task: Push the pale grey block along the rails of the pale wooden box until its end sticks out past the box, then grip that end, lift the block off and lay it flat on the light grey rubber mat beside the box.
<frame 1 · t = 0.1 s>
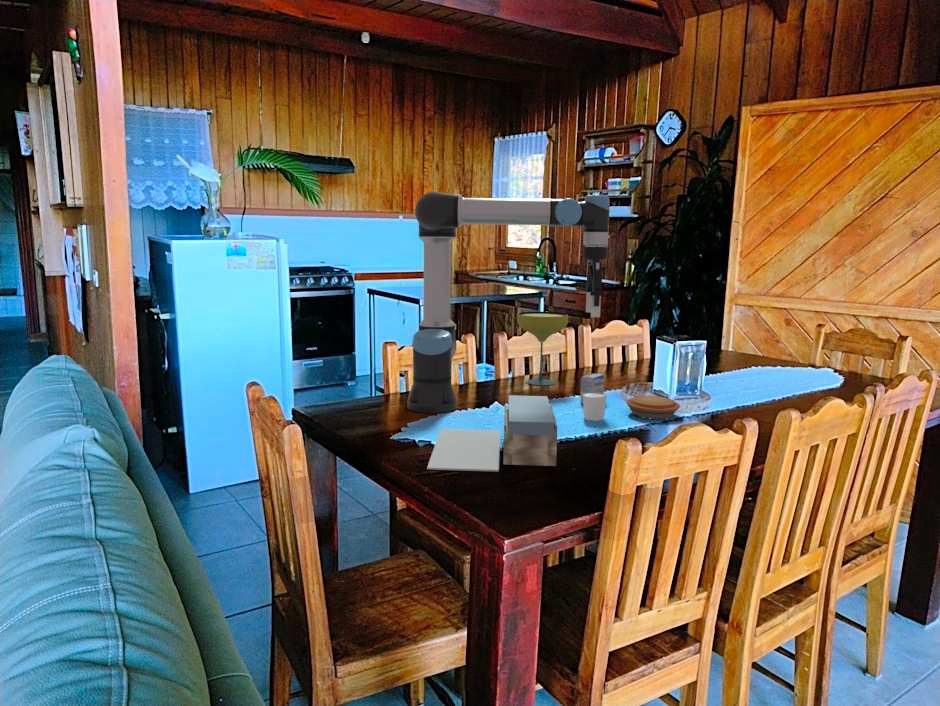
hand: (592, 314, 215), 28 cm above the table, tool pointing down, fingers open, 13 cm apart
wooden box: (528, 451, 166), on the table
cocktail glass: (540, 383, 248), on the table
pie: (652, 415, 204), on the table
pale grey block: (529, 419, 165), point 8 cm above the table, touching wooden box
mat: (466, 448, 168), on the table
medicine box: (591, 402, 219), on the table
white cup: (593, 419, 199), on the table
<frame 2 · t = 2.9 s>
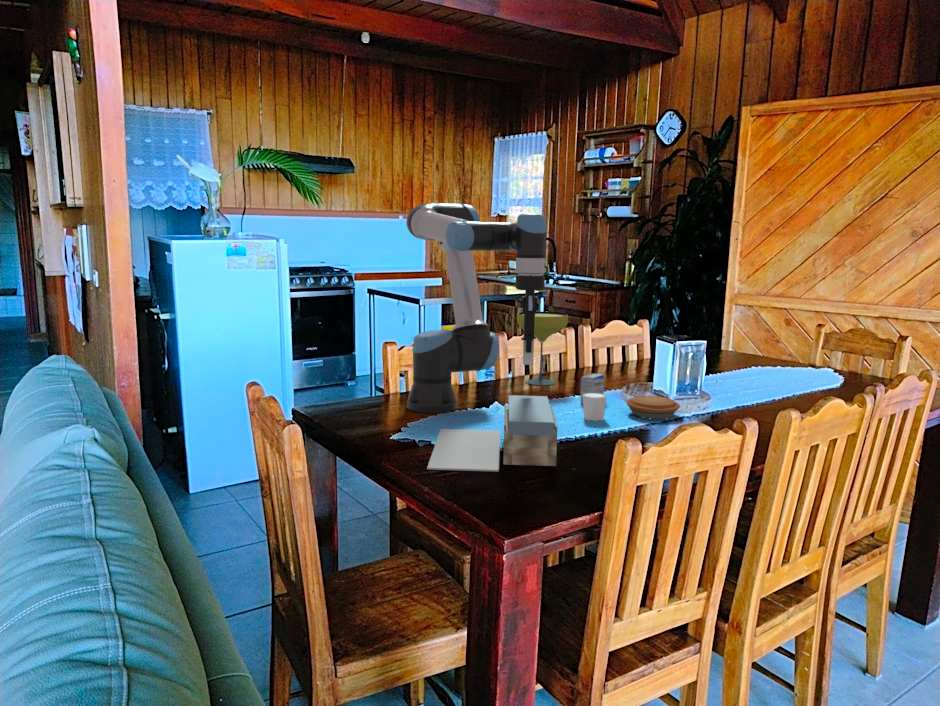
hand: (528, 363, 182), 18 cm above the table, tool pointing down, fingers closed
nothing on the table moved.
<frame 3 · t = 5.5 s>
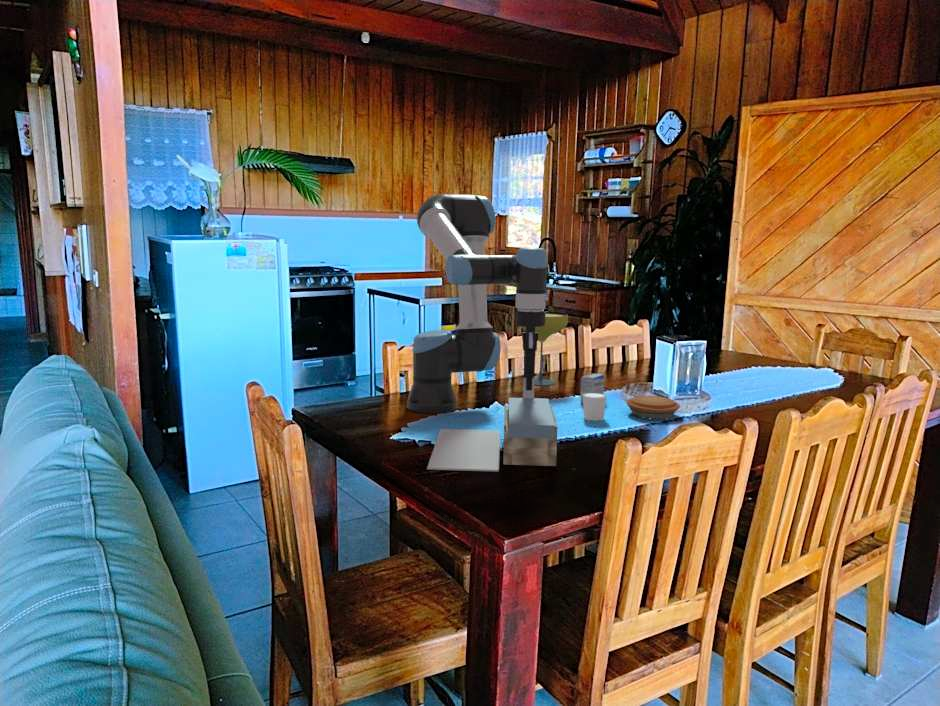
hand: (528, 401, 176), 10 cm above the table, tool pointing down, fingers closed
pale grey block: (529, 422, 162), point 8 cm above the table, touching gripper
everything else where it was.
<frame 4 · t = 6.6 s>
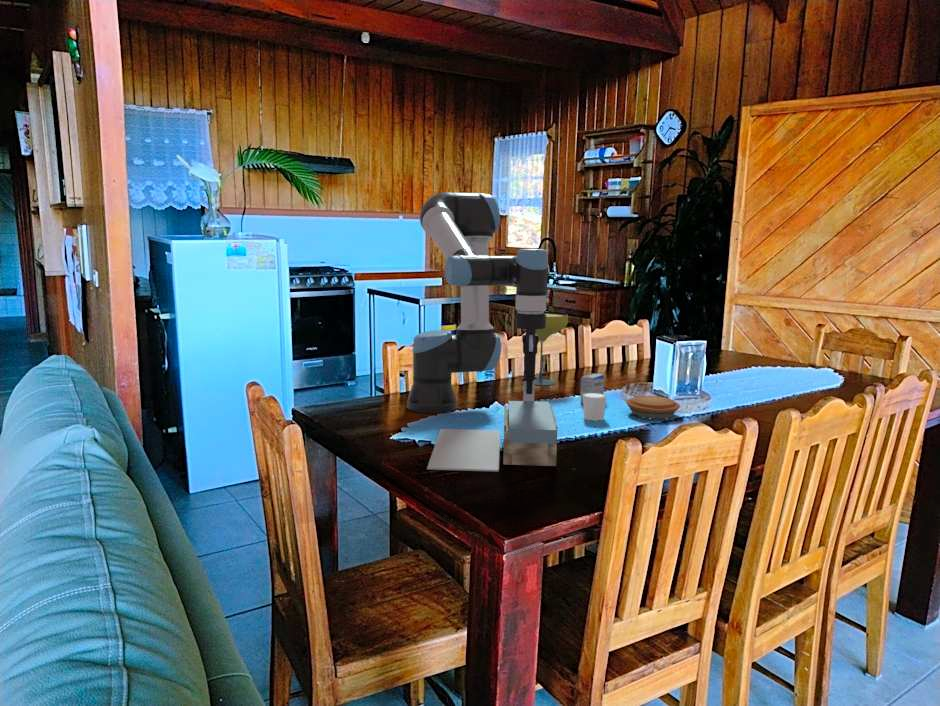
hand: (528, 405, 172), 10 cm above the table, tool pointing down, fingers closed
pale grey block: (530, 426, 159), point 8 cm above the table, touching gripper, wooden box
everything else where it was.
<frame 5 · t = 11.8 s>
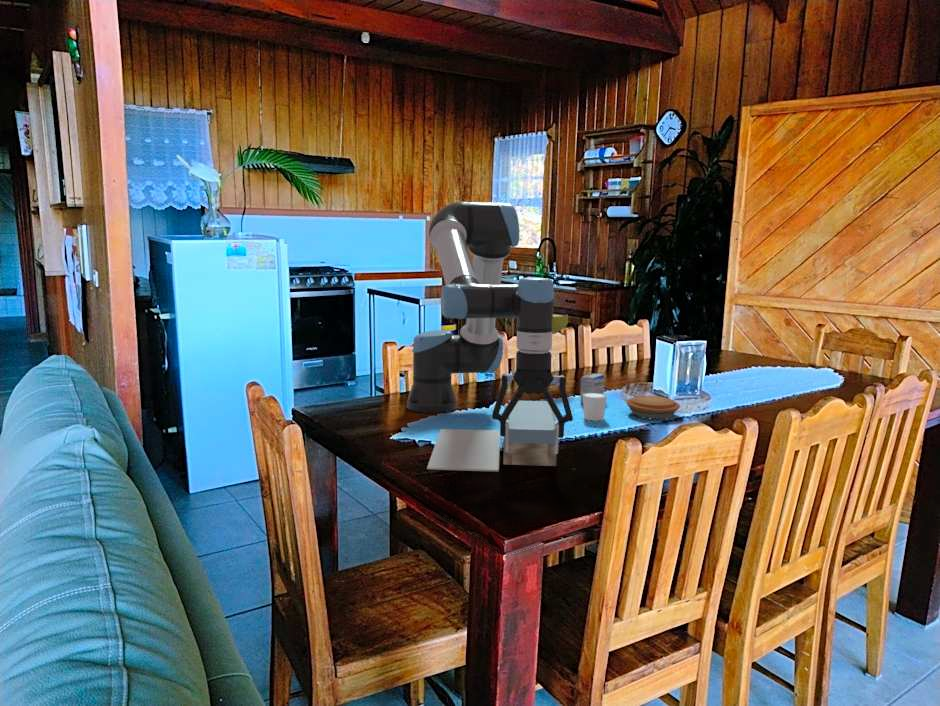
hand: (531, 451, 150), 5 cm above the table, tool pointing down, fingers closed on pale grey block, 10 cm apart
pale grey block: (530, 426, 159), point 8 cm above the table, touching gripper, wooden box
everything else where it was.
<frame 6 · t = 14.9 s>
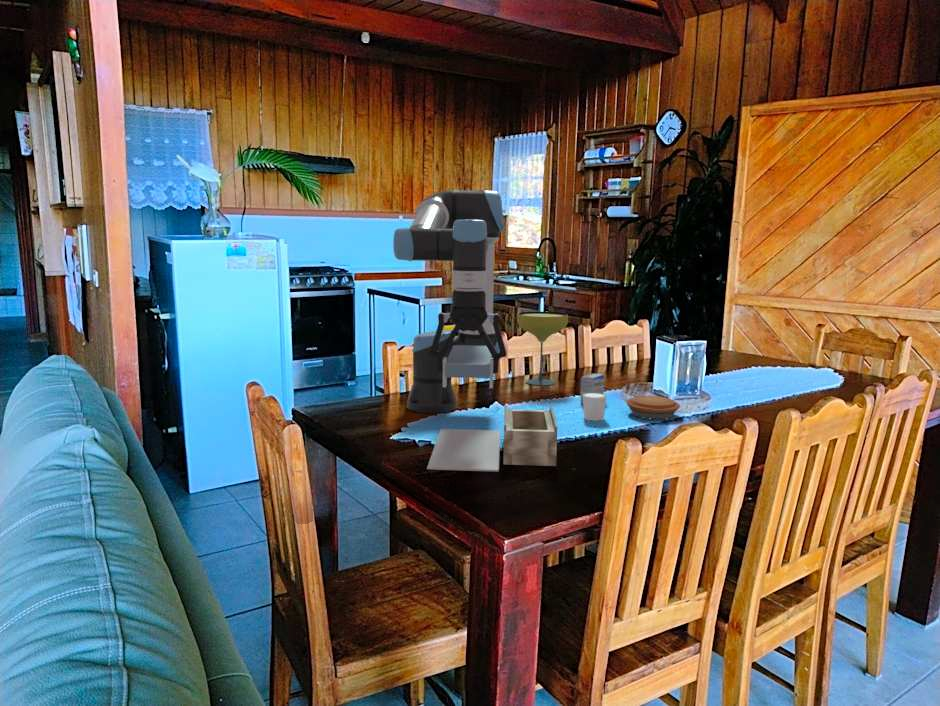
hand: (467, 386, 157), 17 cm above the table, tool pointing down, fingers closed on pale grey block, 10 cm apart
pale grey block: (470, 366, 166), point 20 cm above the table, touching gripper
everything else where it was.
when the fingers open (3 cm above the table, at t = 18.3 s): pale grey block drops 5 cm, resting on mat.
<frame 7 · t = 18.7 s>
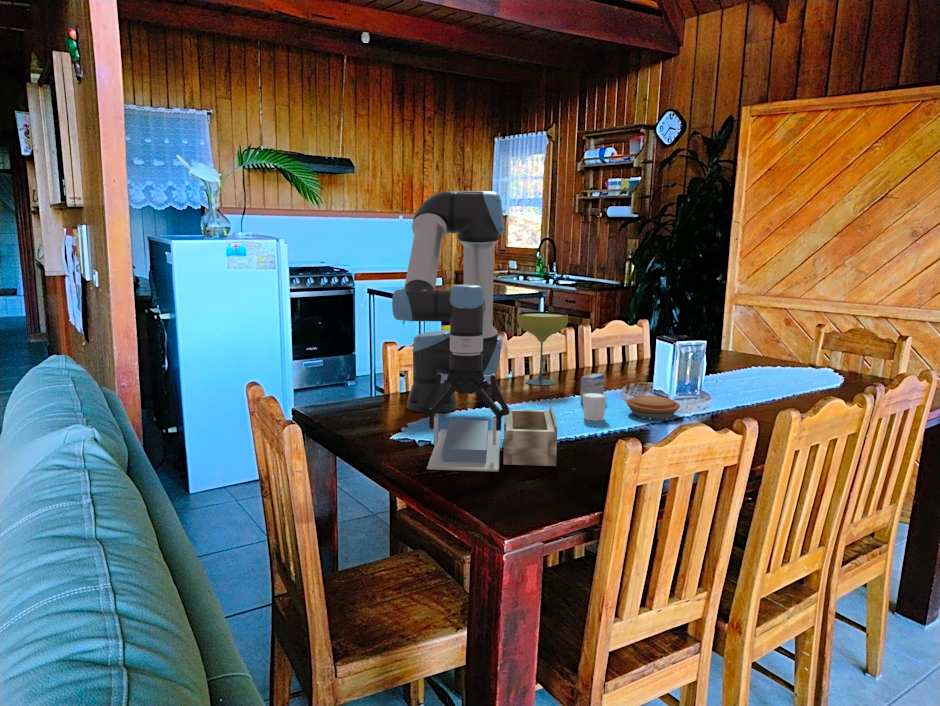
hand: (465, 443, 159), 4 cm above the table, tool pointing down, fingers open, 13 cm apart
pale grey block: (467, 445, 170), resting on mat
everything else where it was.
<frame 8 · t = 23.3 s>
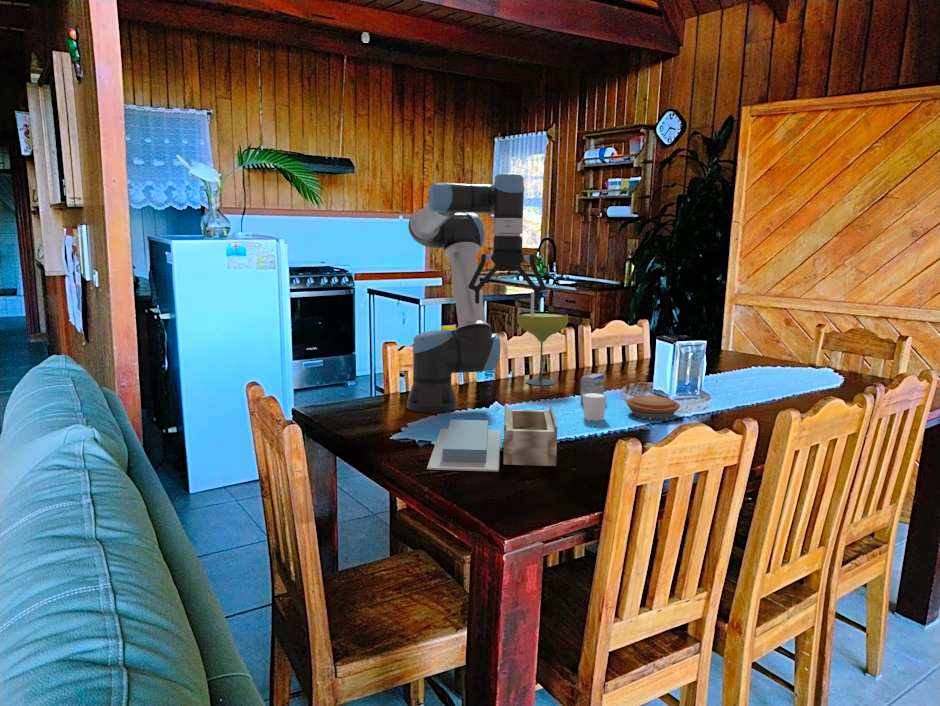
hand: (506, 316, 181), 31 cm above the table, tool pointing down, fingers open, 13 cm apart
nothing on the table moved.
at the end: pale grey block inside the target area (0.7 cm from its centre), on the table; pale grey block tilted 0°; pale grey block touching mat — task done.
